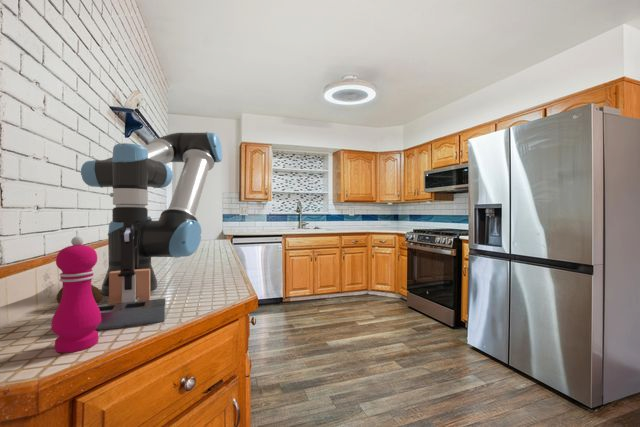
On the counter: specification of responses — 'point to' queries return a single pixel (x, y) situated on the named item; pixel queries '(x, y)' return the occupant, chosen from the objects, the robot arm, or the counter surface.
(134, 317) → the rail
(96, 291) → the potato
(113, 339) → the counter surface
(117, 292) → the peach wedge-cut bar
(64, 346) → the pepper mill
